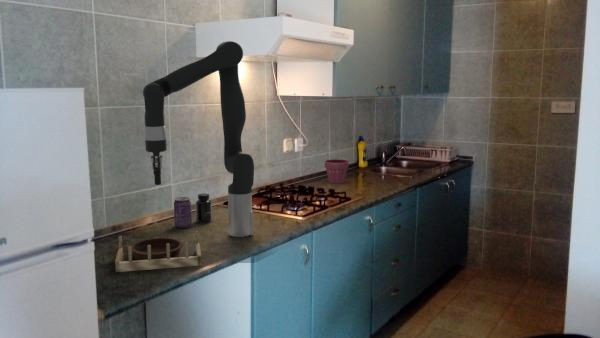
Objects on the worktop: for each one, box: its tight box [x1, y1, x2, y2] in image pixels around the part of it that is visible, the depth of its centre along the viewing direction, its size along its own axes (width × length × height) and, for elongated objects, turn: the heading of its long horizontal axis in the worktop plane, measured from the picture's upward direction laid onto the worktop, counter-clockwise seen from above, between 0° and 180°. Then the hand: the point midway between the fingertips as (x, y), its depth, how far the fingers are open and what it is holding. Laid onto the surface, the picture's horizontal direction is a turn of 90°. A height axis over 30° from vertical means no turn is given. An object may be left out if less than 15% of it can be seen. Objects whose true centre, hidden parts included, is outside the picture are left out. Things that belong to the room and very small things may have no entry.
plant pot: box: [324, 158, 350, 185], centre depth 313 cm, size 14×14×13 cm
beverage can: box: [173, 196, 193, 229], centre depth 221 cm, size 7×7×12 cm
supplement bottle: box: [195, 192, 213, 224], centre depth 229 cm, size 7×7×12 cm
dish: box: [130, 237, 184, 261], centre depth 184 cm, size 18×22×5 cm
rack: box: [114, 230, 203, 273], centre depth 181 cm, size 27×15×8 cm, turn 104°
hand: (158, 184), depth 197 cm, fingers closed
